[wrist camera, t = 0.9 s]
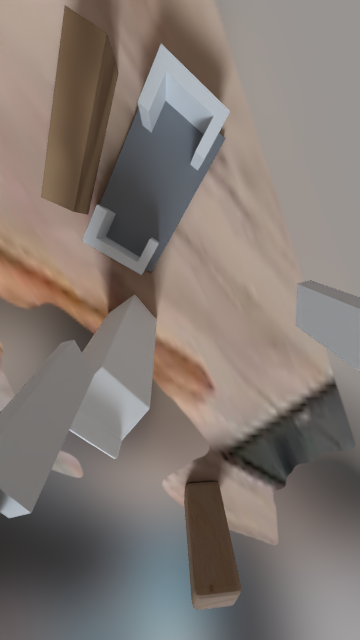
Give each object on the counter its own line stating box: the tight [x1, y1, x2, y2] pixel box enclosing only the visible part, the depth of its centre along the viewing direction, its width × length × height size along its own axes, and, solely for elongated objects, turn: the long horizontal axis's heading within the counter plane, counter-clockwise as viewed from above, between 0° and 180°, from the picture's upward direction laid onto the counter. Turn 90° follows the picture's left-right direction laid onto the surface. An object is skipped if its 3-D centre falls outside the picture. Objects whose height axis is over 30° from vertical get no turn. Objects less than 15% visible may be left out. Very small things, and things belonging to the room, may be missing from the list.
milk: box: [69, 294, 157, 459], centre depth 24 cm, size 6×6×22 cm
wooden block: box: [184, 482, 241, 610], centre depth 51 cm, size 10×10×20 cm
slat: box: [41, 6, 118, 214], centre depth 22 cm, size 4×15×5 cm, turn 157°
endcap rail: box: [83, 44, 230, 275], centre depth 24 cm, size 10×19×6 cm, turn 148°
